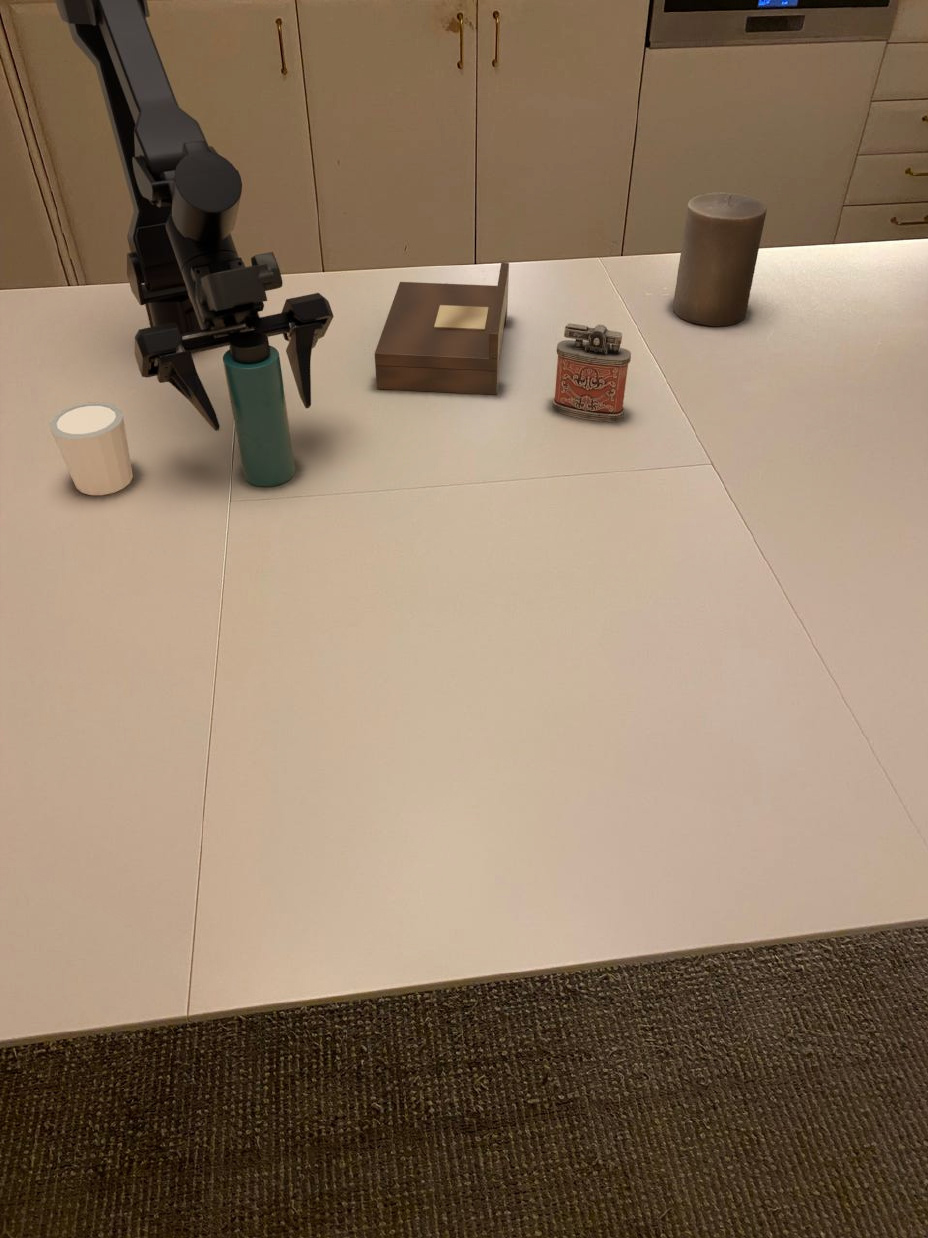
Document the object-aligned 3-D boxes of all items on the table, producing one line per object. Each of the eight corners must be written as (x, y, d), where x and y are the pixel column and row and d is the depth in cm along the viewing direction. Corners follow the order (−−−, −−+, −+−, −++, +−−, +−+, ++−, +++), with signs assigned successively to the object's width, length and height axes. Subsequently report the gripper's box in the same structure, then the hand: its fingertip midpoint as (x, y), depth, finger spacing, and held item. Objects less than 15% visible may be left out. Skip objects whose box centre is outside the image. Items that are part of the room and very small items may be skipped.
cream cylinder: (120, 502, 94) (102, 441, 89) (56, 494, 95) (34, 433, 90) (150, 465, 99) (135, 404, 94) (89, 457, 100) (71, 397, 95)
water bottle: (233, 478, 97) (208, 344, 87) (264, 454, 100) (243, 322, 91) (275, 492, 95) (253, 357, 85) (305, 466, 99) (287, 334, 89)
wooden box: (376, 388, 111) (372, 327, 106) (401, 314, 125) (398, 258, 120) (496, 394, 110) (498, 333, 105) (507, 319, 125) (509, 262, 119)
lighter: (626, 410, 107) (637, 325, 101) (619, 424, 105) (630, 339, 98) (556, 398, 109) (563, 315, 102) (549, 412, 107) (554, 328, 100)
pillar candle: (758, 322, 124) (784, 203, 114) (688, 330, 122) (709, 210, 112) (726, 292, 131) (748, 177, 121) (660, 299, 129) (676, 183, 119)
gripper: (111, 242, 81) (172, 415, 81) (316, 207, 88) (372, 367, 88) (113, 297, 92) (167, 450, 92) (296, 262, 98) (346, 405, 98)
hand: (263, 417), depth 92 cm, fingers open, 9 cm apart
